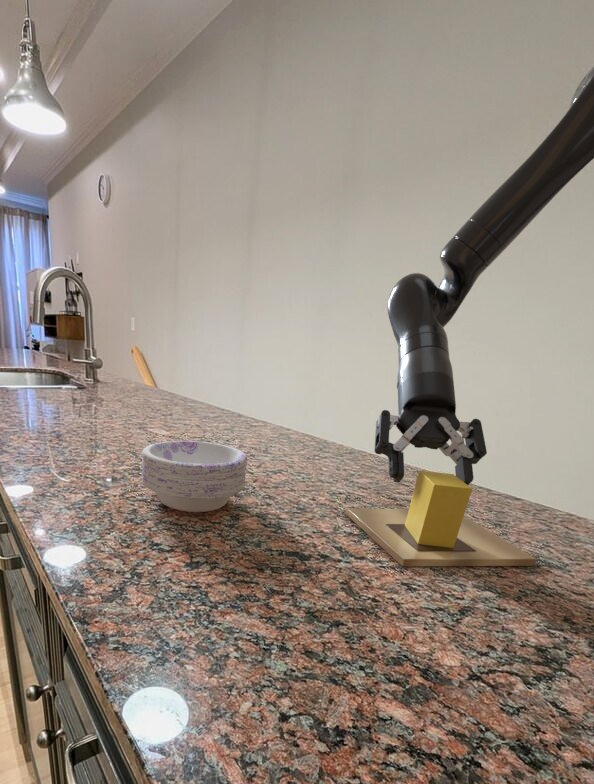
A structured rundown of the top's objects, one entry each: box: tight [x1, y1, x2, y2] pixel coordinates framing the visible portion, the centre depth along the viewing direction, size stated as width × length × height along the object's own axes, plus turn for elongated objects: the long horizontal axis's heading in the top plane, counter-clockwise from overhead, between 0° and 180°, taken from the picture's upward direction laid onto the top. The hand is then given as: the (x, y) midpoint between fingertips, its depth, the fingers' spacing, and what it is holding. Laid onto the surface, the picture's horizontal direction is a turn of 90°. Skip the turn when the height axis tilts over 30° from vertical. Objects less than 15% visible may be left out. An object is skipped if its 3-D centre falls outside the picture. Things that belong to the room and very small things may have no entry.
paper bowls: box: [141, 440, 248, 513], centre depth 66 cm, size 15×15×8 cm
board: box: [345, 507, 538, 567], centre depth 61 cm, size 18×16×1 cm
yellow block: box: [405, 470, 473, 548], centre depth 58 cm, size 4×6×8 cm
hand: (431, 483), depth 60 cm, fingers open, 8 cm apart
